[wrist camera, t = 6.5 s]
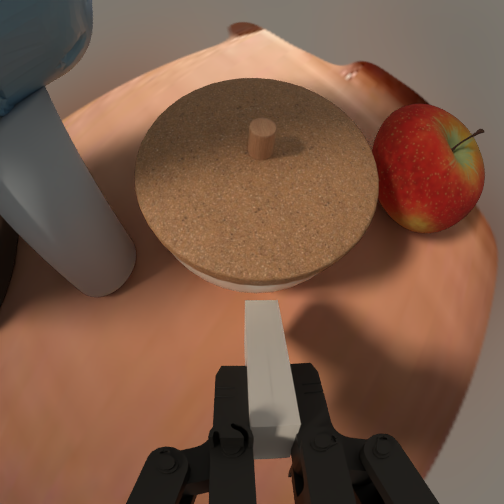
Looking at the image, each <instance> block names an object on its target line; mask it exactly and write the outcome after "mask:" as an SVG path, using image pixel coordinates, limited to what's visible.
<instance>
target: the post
mask: <svg viewBox="0 0 504 504" xmlns="http://www.w3.org/2000/svg"><path fill="white" fill-rule="evenodd" d="M0 215H1V216H2V217H3V218H4V219H5V220H6V222H7V223H8V224H9V225H10V226H11V227H12V228H13V229H14V230H15V231H16V232H17V233H18V234H19V235H20V236H21V237H22V238H23V239H24V240H25V241H26V242H27V243H28V244H29V245H30V246H31V247H32V248H33V249H34V250H35V251H36V252H37V253H38V254H39V255H40V256H41V257H42V258H43V259H44V260H45V261H47V262H48V263H49V264H50V265H51V266H52V267H53V268H54V269H55V270H56V271H58V272H59V273H60V274H61V275H62V276H63V277H64V278H66V279H67V280H68V281H69V282H70V283H71V284H73V285H74V286H75V287H76V288H77V289H79V290H80V291H81V292H82V293H84V294H85V295H87V296H91V297H101V296H105V295H108V294H110V293H112V292H114V291H116V290H117V289H118V288H119V287H121V286H122V285H123V284H124V283H125V281H126V280H127V279H128V277H129V276H130V274H131V272H132V270H133V268H134V265H135V260H136V249H135V245H134V243H133V241H132V240H131V238H130V237H129V235H128V234H127V232H126V231H125V229H124V228H123V226H122V224H121V223H120V221H119V220H118V218H117V217H116V215H115V214H114V212H113V210H112V209H111V207H110V206H109V204H108V202H107V201H106V199H105V198H104V196H103V194H102V193H101V191H100V189H99V188H98V186H97V184H96V183H95V181H94V179H93V178H92V176H91V174H90V172H89V171H88V169H87V167H86V165H85V164H84V162H83V160H82V158H81V157H80V155H79V153H78V151H77V149H76V148H75V146H74V144H73V142H72V140H71V138H70V136H69V134H68V133H67V131H66V129H65V127H64V125H63V123H62V121H61V119H60V117H59V115H58V113H57V111H56V109H55V107H54V105H53V103H52V101H51V98H50V96H49V94H48V92H47V90H46V88H45V86H43V87H42V88H40V89H38V90H37V91H35V92H34V93H32V94H31V95H29V96H28V97H26V98H25V99H23V100H22V101H20V102H19V103H18V104H16V105H15V106H14V107H13V109H12V110H11V111H10V112H9V113H8V114H6V115H5V116H0Z"/></svg>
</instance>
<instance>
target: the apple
mask: <svg viewBox="0 0 504 504" xmlns="http://www.w3.org/2000/svg"><path fill="white" fill-rule="evenodd" d="M480 133H484V130H483V129H479V130H478V131H477V132H476V133H474V134H473V135H472V134H471V133H470V131H469V130H468V129H467V128H466V127H465V125H464V124H463V123H461V122H460V121H459V120H458V119H457V118H456V117H454V116H453V115H451V114H450V113H448V112H446V111H445V110H443V109H440V108H438V107H435V106H432V105H428V104H411V105H407V106H404V107H401V108H400V109H398V110H396V111H394V112H393V113H392V114H391V115H390V116H389V117H388V118H387V119H386V120H385V121H384V122H383V124H382V126H381V127H380V129H379V131H378V133H377V136H376V138H375V141H374V145H373V149H372V153H373V156H374V159H375V162H376V166H377V172H378V178H379V196H378V200H379V202H380V203H381V205H382V206H383V208H384V209H385V211H386V212H387V213H388V214H389V215H390V217H391V218H392V219H393V220H394V221H396V222H397V223H398V224H399V225H401V226H402V227H404V228H406V229H408V230H411V231H414V232H419V233H433V232H438V231H442V230H444V229H447V228H449V227H451V226H453V225H455V224H456V223H458V222H459V221H460V220H462V219H463V218H464V217H465V216H467V214H468V213H469V212H470V211H471V210H472V209H473V208H474V206H475V205H476V203H477V202H478V200H479V198H480V195H481V193H482V190H483V186H484V179H485V172H484V164H483V159H482V156H481V153H480V150H479V147H478V145H477V143H476V141H475V139H474V136H476V135H478V134H480Z"/></svg>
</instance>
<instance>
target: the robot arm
mask: <svg viewBox="0 0 504 504" xmlns="http://www.w3.org/2000/svg"><path fill="white" fill-rule="evenodd" d="M92 28H93V11H92V0H0V116H5V115H6V114H8V113H9V112H10V111H11V110H12V109H13V107H14V106H15V105H16V104H18V103H19V102H20V101H22V100H23V99H25V98H26V97H28V96H29V95H31V94H32V93H34V92H35V91H37V90H38V89H40V88H42V87H43V86H46V85H48V84H49V83H51V82H53V81H54V80H56V79H58V78H60V77H61V76H63V75H64V74H66V73H67V72H69V71H70V70H71V69H72V68H73V67H74V66H75V65H76V64H77V63H78V62H79V61H80V60H81V58H82V57H83V55H84V54H85V52H86V50H87V48H88V46H89V43H90V40H91V35H92ZM17 237H18V233H17V232H16V231H15V230H14V229H13V228H12V227H11V226H10V225H9V224H8V223H7V222H6V220H5V219H4V218H3V217H2V216H1V215H0V306H1V303H2V301H3V299H4V296H5V293H6V291H7V288H8V284H9V281H10V278H11V274H12V270H13V265H14V261H15V255H16V248H17ZM244 346H245V366H221V368H220V369H219V371H218V373H217V374H216V379H215V398H214V418H213V428H212V429H211V430H210V433H209V436H208V440H207V441H206V442H205V443H204V444H202V445H200V446H198V447H195V448H190V449H185V450H181V451H180V450H178V449H176V448H173V447H161V448H158V449H156V450H154V451H152V453H151V454H150V455H149V456H148V458H147V460H146V462H145V464H144V467H143V469H142V471H141V473H140V475H139V477H138V479H137V481H136V484H135V486H134V488H133V490H132V492H131V494H130V496H129V499H128V501H127V503H126V504H194V502H195V499H196V496H197V495H198V494H202V493H207V492H209V504H256V488H255V472H254V459H273V458H287V457H290V455H291V456H292V466H291V468H290V470H289V475H288V477H291V476H292V484H293V492H294V500H295V504H439V503H438V501H437V499H436V498H435V497H434V495H433V494H432V492H431V491H430V489H429V488H428V486H427V484H426V483H425V481H424V480H423V479H422V477H421V476H420V474H419V473H418V471H417V470H416V468H415V467H414V465H413V464H412V462H411V461H410V459H409V458H408V456H407V455H406V453H405V452H404V450H403V449H402V447H401V446H400V444H399V443H398V442H397V440H396V439H394V438H393V437H392V436H390V435H388V434H376V435H373V436H372V437H370V438H369V439H368V440H366V439H356V438H349V437H345V436H343V435H341V434H340V433H338V432H337V431H336V430H335V429H334V427H333V426H332V423H331V420H330V416H329V412H328V408H327V404H326V400H325V396H324V393H323V389H322V385H321V381H320V378H319V374H318V371H317V370H316V369H315V368H314V366H313V365H312V364H311V363H299V364H290V362H289V357H288V351H287V346H286V341H285V335H284V330H283V325H282V320H281V315H280V309H279V304H278V300H245V335H244Z"/></svg>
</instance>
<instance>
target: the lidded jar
mask: <svg viewBox="0 0 504 504" xmlns="http://www.w3.org/2000/svg"><path fill="white" fill-rule="evenodd" d="M134 179H135V192H136V196H137V199H138V203H139V207H140V209H141V211H142V213H143V215H144V217H145V219H146V221H147V223H148V225H149V227H150V228H151V230H152V231H153V232H154V234H155V235H156V236H157V237H158V239H159V240H160V241H161V243H162V244H163V245H164V246H165V247H166V248H167V249H168V250H169V251H170V252H171V253H172V254H173V255H174V256H175V257H176V259H178V260H179V261H180V262H181V263H182V264H183V265H184V266H185V267H186V268H188V269H189V270H190V271H191V272H193V273H195V274H196V275H198V276H199V277H201V278H202V279H204V280H206V281H207V282H209V283H212V284H214V285H217V286H219V287H221V288H225V289H229V290H233V291H237V292H245V293H266V292H275V291H279V290H283V289H287V288H290V287H293V286H295V285H298V284H300V283H302V282H304V281H307V280H309V279H311V278H312V277H314V276H315V275H317V274H318V273H320V272H321V271H323V270H325V269H327V268H328V267H330V266H331V265H332V264H334V263H335V262H337V261H338V260H340V259H341V258H342V257H344V256H345V255H346V254H347V253H348V252H349V251H350V250H351V249H352V248H353V247H354V246H355V245H356V244H357V243H358V242H359V240H360V239H361V237H362V236H363V234H364V233H365V231H366V230H367V228H368V227H369V225H370V223H371V220H372V218H373V215H374V213H375V211H376V206H377V201H378V196H379V178H378V172H377V166H376V162H375V159H374V156H373V153H372V151H371V148H370V146H369V144H368V142H367V141H366V139H365V137H364V135H363V134H362V132H361V131H360V130H359V128H358V127H357V126H356V124H355V123H354V122H353V121H352V120H351V119H350V118H349V117H348V116H347V115H346V114H345V113H344V112H343V111H342V110H341V109H339V108H338V107H337V106H335V105H334V104H333V103H332V102H330V101H329V100H327V99H325V98H323V97H322V96H320V95H318V94H316V93H314V92H312V91H310V90H308V89H305V88H303V87H300V86H297V85H294V84H290V83H287V82H282V81H277V80H272V79H261V78H241V79H233V80H226V81H222V82H218V83H213V84H210V85H207V86H205V87H202V88H200V89H197V90H195V91H193V92H191V93H189V94H187V95H185V96H183V97H182V98H180V99H179V100H177V101H176V102H175V103H173V104H172V105H171V106H169V107H168V108H167V109H166V110H165V111H164V112H163V113H162V114H161V115H160V116H159V117H158V118H157V119H156V121H155V122H154V123H153V125H152V126H151V127H150V129H149V130H148V132H147V134H146V136H145V137H144V139H143V141H142V143H141V146H140V149H139V152H138V155H137V158H136V164H135V172H134Z"/></svg>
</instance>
